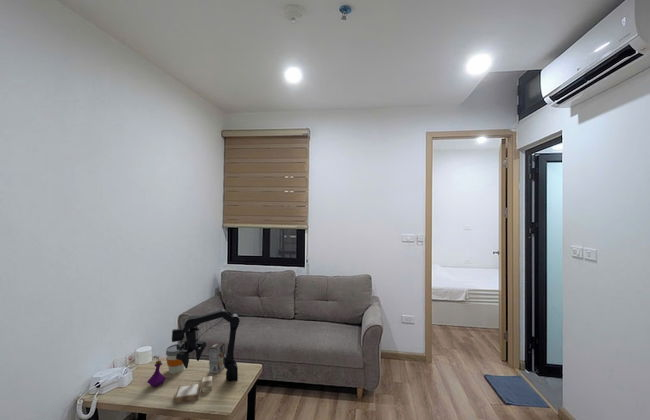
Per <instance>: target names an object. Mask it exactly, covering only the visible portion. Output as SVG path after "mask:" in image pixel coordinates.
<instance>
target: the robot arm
mask: <svg viewBox="0 0 650 420" xmlns="http://www.w3.org/2000/svg"><path fill="white" fill-rule="evenodd" d="M221 318H223V319H224V320H225V321H226V322H228V323H229V324H228V325H229V333H228V343H227V348H226V349H227V350H226V352H225V354H224V358H223V365H224V366H225V367H224V368H225V369H226V372H225V379H226V382H227V383H229V382H236V381H238V380H239V374H238V371H239V367H238V362H237V361H236V360H235V357H234V356H235V355H234V351H235V343H236V336H237V335H236V334H237V330H238V327H239V324H240V320H241V319H240V317H239V315H238V314H237V313H233V312H230V311H227V310H226V309H223V308H221V309H220V310H216V311H213V312H209V313H205V314H202V315H201V314H200V315H189V316H188V317H187V318H186V319H185V323H184V324H183V326H182V328H177V329H176V328H175V329H172V331H171V343H174V342H180V341H183V340H184V339H185V340H184V341H183V342H182V343H177V344H178V345H177V346H176V348H177V350H180V351H181V350H183V349H184V350H187V351H186V352H183V351H182V352H180V353H178V354H177V355H176V359H178V360H181V361H182V362H183V364H184V369H188V367H189V363H190V357H189V356H190V354H191V353H193V352H194V351H195V353H196V361H197V362H199V361H200V359H201V357H202V354H203V352H204V350H205V349H206V347H207V343H206V341H201V340H199V339H198V338H197V332H198V331H199V330H200V327H199V325H201V324H204V323H206V322H209V321H214V320H217V319H221Z"/></svg>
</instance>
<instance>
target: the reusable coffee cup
mask: <svg viewBox="0 0 650 420" xmlns="http://www.w3.org/2000/svg"><path fill="white" fill-rule="evenodd" d="M178 344H179V343H175V344H171V345H170V346H168V347H166V350H165V356H166V363H167V367H168V373H169V374H171V375H174V374H179V373H182V372H183V371H184V370H185V366H184V364H183V362H182V361H181V360H178V359H176V355H177V354H178V353H180V352H182V351H183V352H186V351H187V350H184V349H183V350H181V351H180V350H177V348H176V346H177V345H178Z"/></svg>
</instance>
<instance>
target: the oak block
mask: <svg viewBox="0 0 650 420" xmlns="http://www.w3.org/2000/svg"><path fill="white" fill-rule="evenodd" d="M201 384H202V386H201V387H202V389H201V391H202V393H204V392H210V391H212V389H213V375H209V376H208V375H207V376H203V378H202V380H201Z"/></svg>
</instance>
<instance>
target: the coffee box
mask: <svg viewBox="0 0 650 420" xmlns="http://www.w3.org/2000/svg"><path fill="white" fill-rule="evenodd" d="M225 344H226V343H225V342H218V341H217V342H215V343H214V344H213V345H211V346H209V348H208V353H209V354H208V359H209V360H208V361H209V362H208V363H209V364H208V365H209V367H208V368H209V373H212V374H213V373H215V374H219V373H220V372H221V371H222V370H223V369H224V368H225V366H224V365H223V358H224V354H226V347H225Z"/></svg>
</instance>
